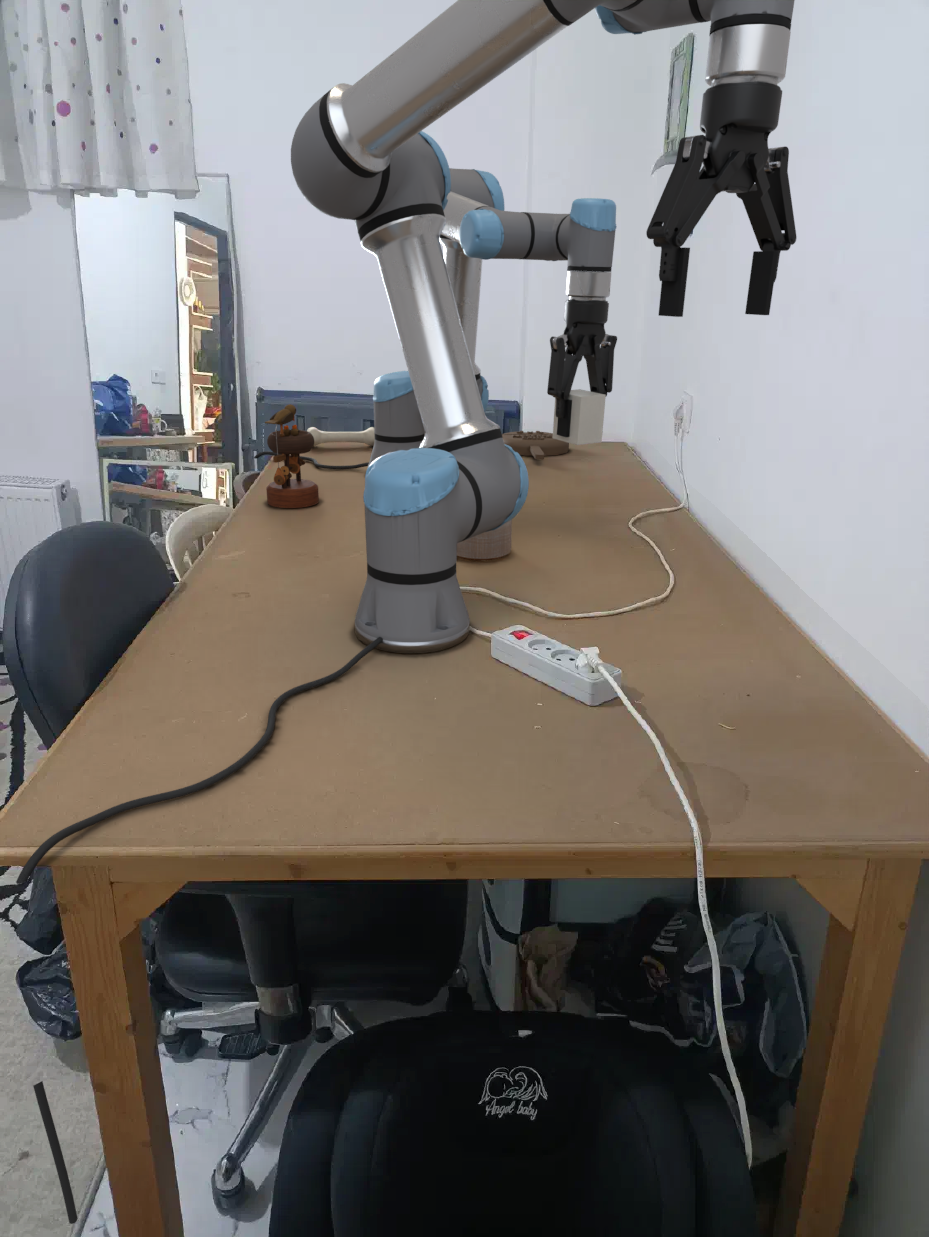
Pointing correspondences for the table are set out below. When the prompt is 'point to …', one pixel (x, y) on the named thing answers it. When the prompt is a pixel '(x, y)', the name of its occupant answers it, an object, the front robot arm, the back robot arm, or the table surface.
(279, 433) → the music box
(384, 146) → the front robot arm
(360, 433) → the dog toy
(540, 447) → the ice cream bar
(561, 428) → the back robot arm
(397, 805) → the table surface
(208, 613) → the table surface
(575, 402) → the brick
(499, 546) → the planter
